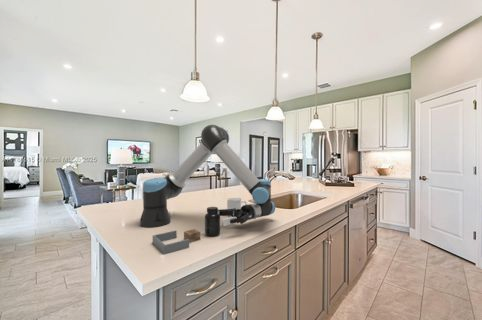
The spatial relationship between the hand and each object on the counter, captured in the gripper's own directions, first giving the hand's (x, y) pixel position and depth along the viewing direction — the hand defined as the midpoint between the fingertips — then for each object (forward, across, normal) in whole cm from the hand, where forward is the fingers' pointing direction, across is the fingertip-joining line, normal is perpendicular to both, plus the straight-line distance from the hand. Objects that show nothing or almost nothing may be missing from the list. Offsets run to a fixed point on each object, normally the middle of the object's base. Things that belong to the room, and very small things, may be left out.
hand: (214, 219), depth 99 cm
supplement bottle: (+1, 0, -7) cm, 7 cm away
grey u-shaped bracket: (+20, +1, -7) cm, 21 cm away
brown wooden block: (+11, +1, -7) cm, 13 cm away
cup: (-27, +19, -7) cm, 34 cm away
